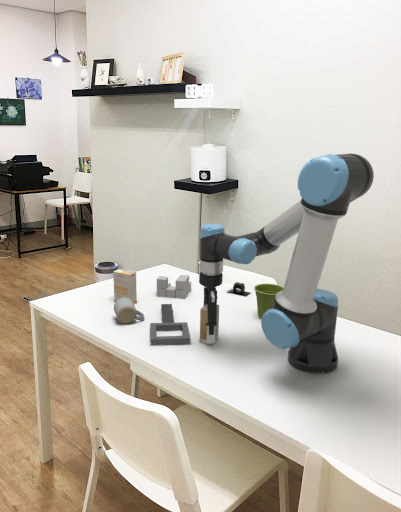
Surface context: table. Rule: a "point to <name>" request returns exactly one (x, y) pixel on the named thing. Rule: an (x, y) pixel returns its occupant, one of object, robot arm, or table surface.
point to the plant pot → (266, 296)
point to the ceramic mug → (127, 311)
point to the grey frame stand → (169, 329)
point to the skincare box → (204, 321)
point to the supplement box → (125, 285)
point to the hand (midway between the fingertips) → (209, 337)
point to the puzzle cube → (173, 292)
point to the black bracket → (239, 292)
